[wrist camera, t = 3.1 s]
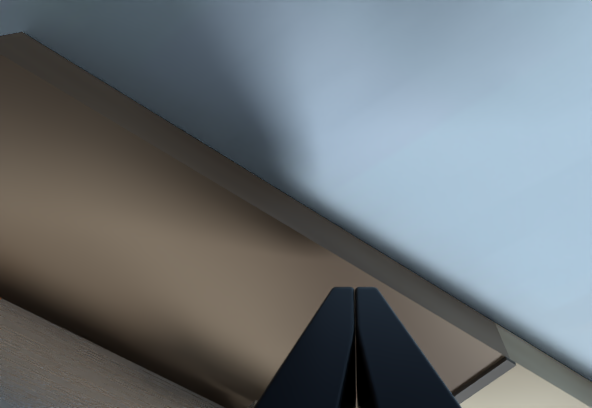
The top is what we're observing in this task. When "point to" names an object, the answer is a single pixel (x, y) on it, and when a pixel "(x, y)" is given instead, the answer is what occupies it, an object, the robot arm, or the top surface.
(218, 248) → the door-edge board
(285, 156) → the top surface
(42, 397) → the swing bar
